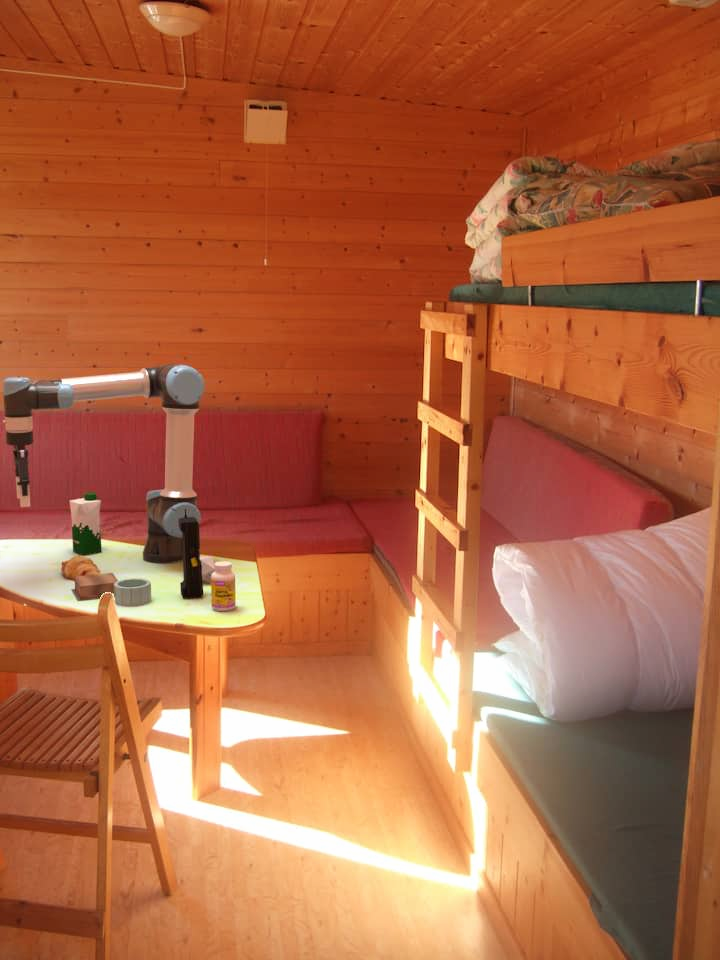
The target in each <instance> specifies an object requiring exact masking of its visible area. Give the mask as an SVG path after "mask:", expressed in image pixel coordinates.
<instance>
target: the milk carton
mask: <svg viewBox="0 0 720 960" xmlns="http://www.w3.org/2000/svg"><path fill="white" fill-rule="evenodd" d="M83 495H84V497H83V498H76V499H71V500H69V507H70V517H71V536H72V552H73V553H76V554H77V555H80V556H87V555H93V554H98V553H99V554H100V553H102V551H103V550H102V537H101V535H102V534H101V533H102V532H101V514H100V513H101V504H102V500H100V499H98V497H97V496H98V495H97V492H85V493H84V494H83Z"/></svg>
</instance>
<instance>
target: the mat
mask: <svg viewBox="0 0 720 960" xmlns="http://www.w3.org/2000/svg"><path fill="white" fill-rule="evenodd" d="M71 591H72V594H73V595H74V597H75V599H76V601H77V602H84V601H93V600H101V599H100V598H93V599H85V600H80V598H79V596H78V594H77V592H76V591H75V588H71Z"/></svg>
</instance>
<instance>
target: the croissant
mask: <svg viewBox="0 0 720 960" xmlns="http://www.w3.org/2000/svg"><path fill="white" fill-rule="evenodd" d="M61 572H62V574H63V576H64V578H67V579H68V580H74V581H75V579H74V577H76V576H86V575H95V574H101V570H100V569H99V567H98V565H96V564H95V562H94V561H93V559H91V558H89V557H87V556H85V555H80V554H78V555H76V556H73V557H72V558H69V560H65V561H62V562H61Z"/></svg>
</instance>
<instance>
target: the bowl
mask: <svg viewBox="0 0 720 960" xmlns="http://www.w3.org/2000/svg"><path fill="white" fill-rule="evenodd" d="M151 584H152V582H151V581H150V580H149V579H147V578H146V579H145V578H139V577H138V578H137V577H136V578H135V577H134V578H126V579H120V580H118V581H117V582H115V583H114V597H115V600H114V603H115V602H116V603H115V604H116V605H119V606H121V605H122V607H135V606H136V607H137V606H143V605H146V604H148V603H150V602H152V601H151V600H152V585H151ZM114 597H113V598H114Z"/></svg>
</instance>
